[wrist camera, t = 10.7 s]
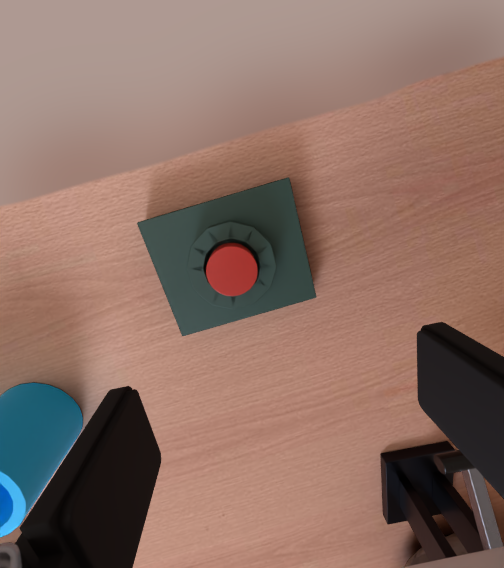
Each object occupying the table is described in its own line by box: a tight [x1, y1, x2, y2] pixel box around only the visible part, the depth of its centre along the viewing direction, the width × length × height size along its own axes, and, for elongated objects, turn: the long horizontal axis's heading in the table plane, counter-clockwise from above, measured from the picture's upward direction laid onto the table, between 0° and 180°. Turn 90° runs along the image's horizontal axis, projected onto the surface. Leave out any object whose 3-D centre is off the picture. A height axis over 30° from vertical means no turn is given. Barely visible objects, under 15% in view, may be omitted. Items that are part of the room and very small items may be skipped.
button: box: [206, 243, 258, 296], centre depth 20 cm, size 4×4×2 cm
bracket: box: [381, 441, 484, 562], centre depth 27 cm, size 10×8×15 cm
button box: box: [137, 177, 316, 336], centre depth 23 cm, size 12×10×4 cm
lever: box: [434, 450, 503, 550], centre depth 22 cm, size 15×5×2 cm, turn 10°
